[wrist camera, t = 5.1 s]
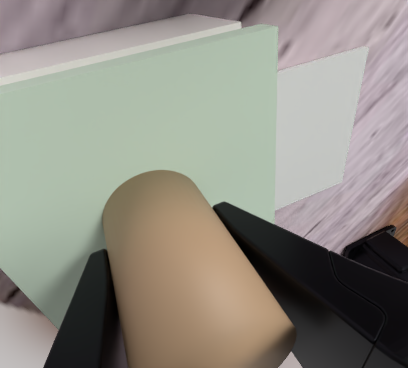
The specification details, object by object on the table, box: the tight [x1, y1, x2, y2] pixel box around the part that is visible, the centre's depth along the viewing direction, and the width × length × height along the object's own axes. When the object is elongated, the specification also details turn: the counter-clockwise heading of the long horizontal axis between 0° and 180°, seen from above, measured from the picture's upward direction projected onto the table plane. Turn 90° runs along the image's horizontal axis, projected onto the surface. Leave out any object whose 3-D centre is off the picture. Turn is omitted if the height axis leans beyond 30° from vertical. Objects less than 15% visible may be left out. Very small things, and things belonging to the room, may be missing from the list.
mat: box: [275, 46, 369, 210], centre depth 18 cm, size 10×10×1 cm
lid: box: [0, 24, 297, 368], centre depth 7 cm, size 9×9×6 cm
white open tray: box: [0, 13, 241, 86], centre depth 12 cm, size 9×9×4 cm
